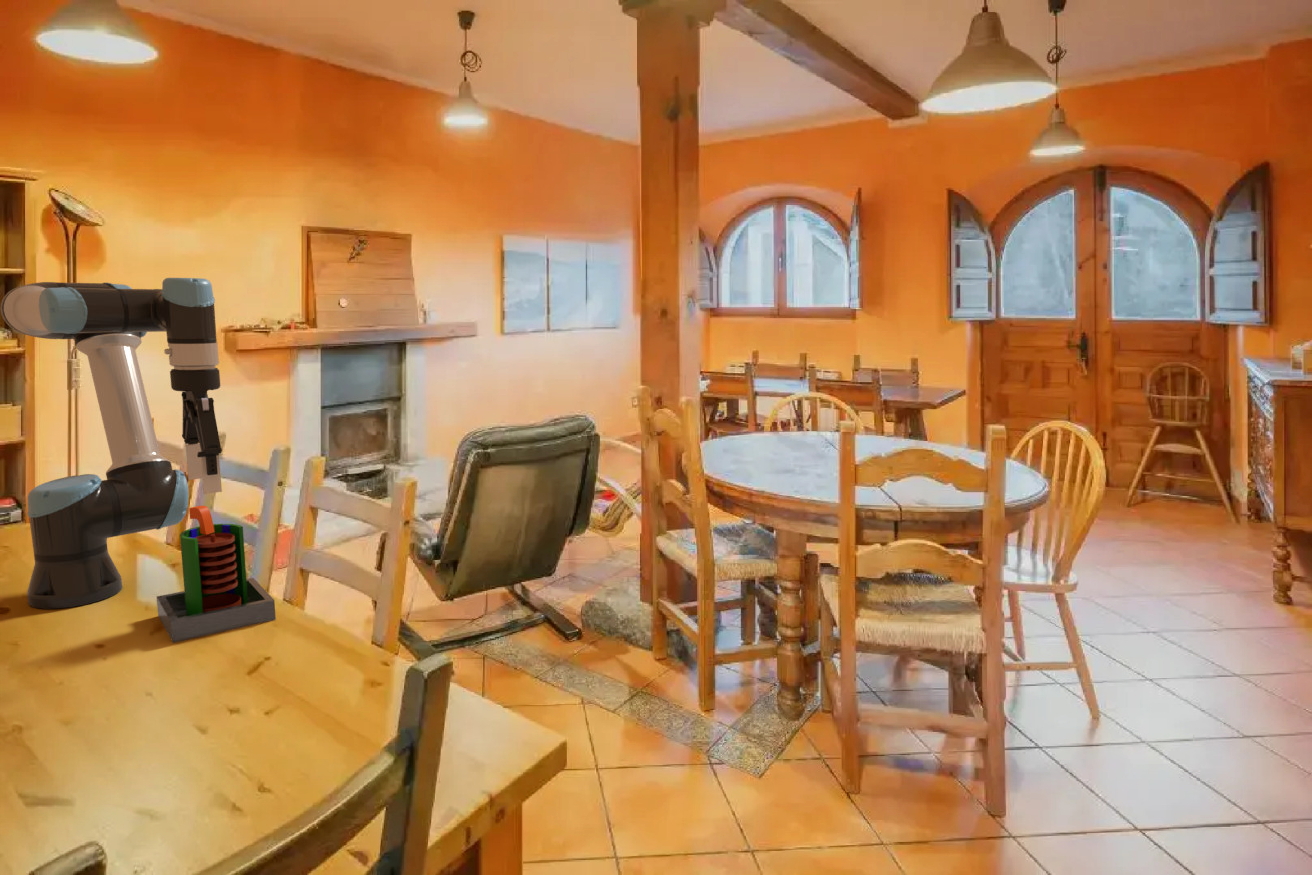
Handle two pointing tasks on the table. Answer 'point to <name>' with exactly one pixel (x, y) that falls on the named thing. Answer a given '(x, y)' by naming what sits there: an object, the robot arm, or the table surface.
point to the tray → (214, 614)
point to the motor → (212, 564)
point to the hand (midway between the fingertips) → (204, 485)
